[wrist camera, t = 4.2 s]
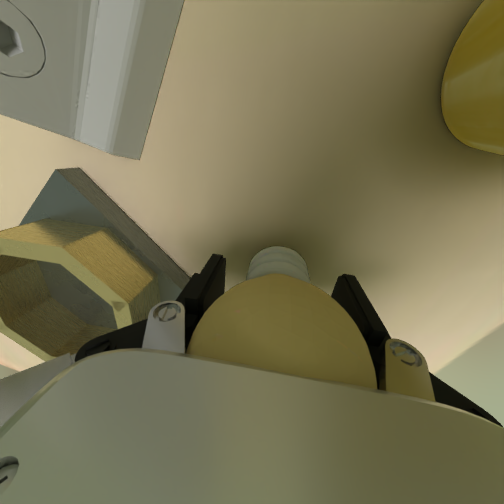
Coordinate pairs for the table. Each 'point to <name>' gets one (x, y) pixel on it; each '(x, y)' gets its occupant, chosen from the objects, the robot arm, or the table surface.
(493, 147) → the plant pot
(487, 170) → the table surface
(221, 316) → the light bulb
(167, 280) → the fitting plate
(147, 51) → the white rounded block
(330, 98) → the table surface
